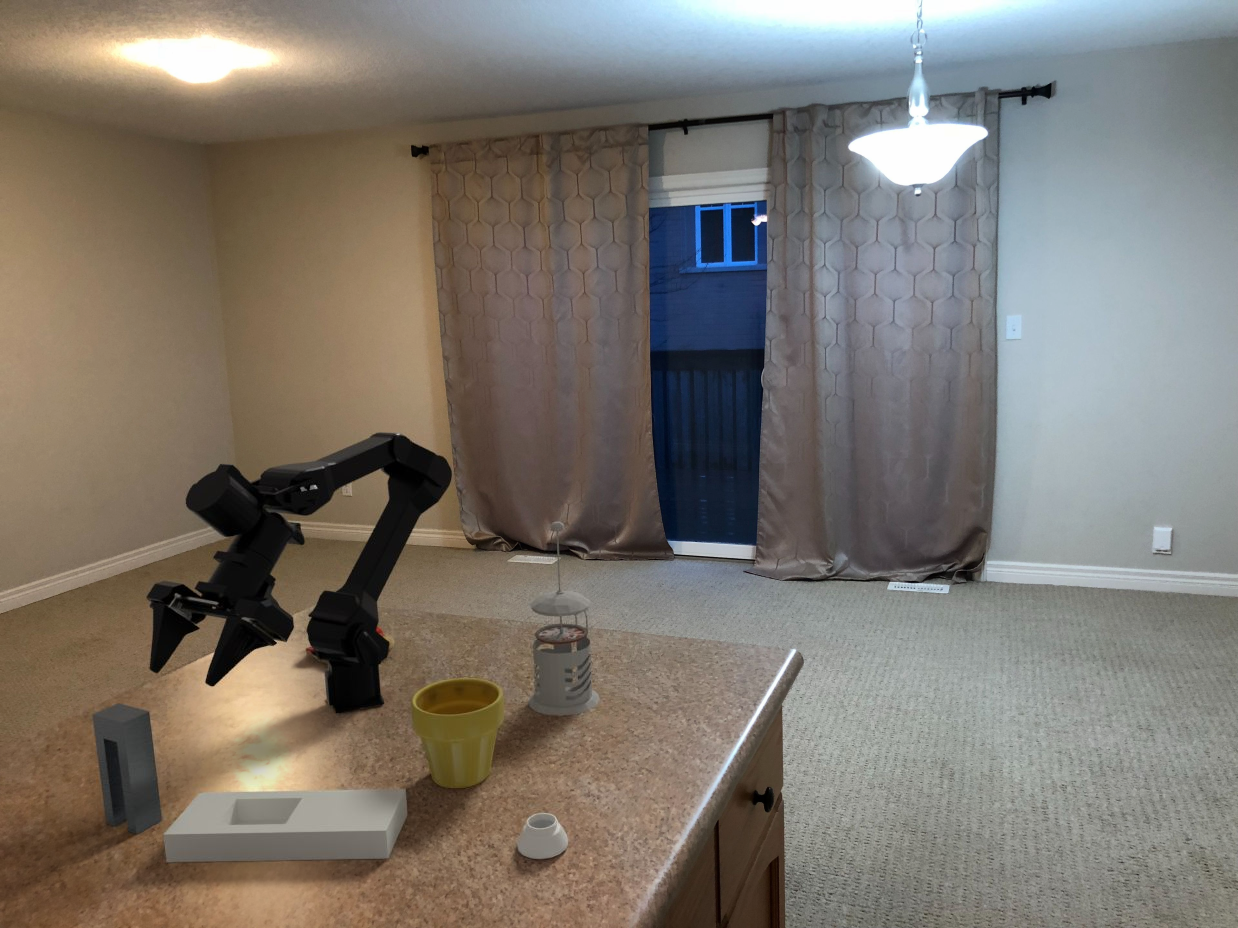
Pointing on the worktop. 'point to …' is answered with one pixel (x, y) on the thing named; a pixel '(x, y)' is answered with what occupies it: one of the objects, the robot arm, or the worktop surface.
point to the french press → (562, 654)
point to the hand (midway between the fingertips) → (180, 678)
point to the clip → (127, 767)
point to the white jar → (542, 837)
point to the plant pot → (458, 728)
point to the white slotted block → (287, 826)
